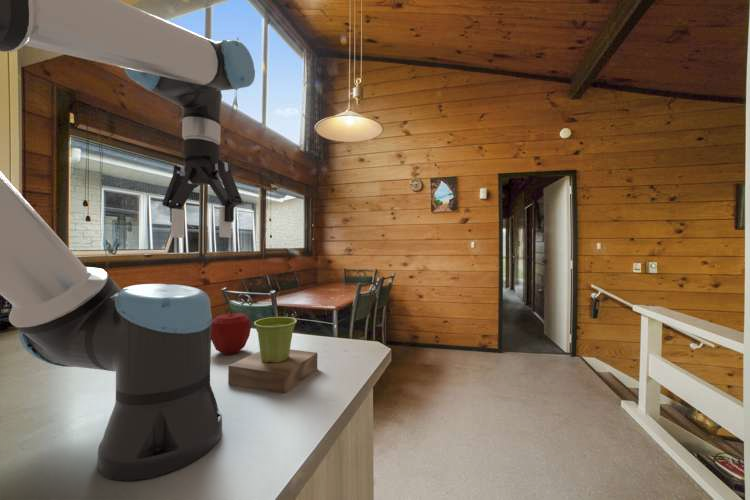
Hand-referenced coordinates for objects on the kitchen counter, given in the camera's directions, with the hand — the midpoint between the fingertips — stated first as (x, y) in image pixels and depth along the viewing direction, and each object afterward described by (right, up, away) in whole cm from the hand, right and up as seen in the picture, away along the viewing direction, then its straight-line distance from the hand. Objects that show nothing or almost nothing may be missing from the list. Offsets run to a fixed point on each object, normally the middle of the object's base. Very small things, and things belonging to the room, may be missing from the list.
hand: (200, 237), depth 70 cm
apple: (-2, -32, +18) cm, 37 cm away
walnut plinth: (+16, -32, +2) cm, 36 cm away
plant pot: (+16, -28, +2) cm, 32 cm away
